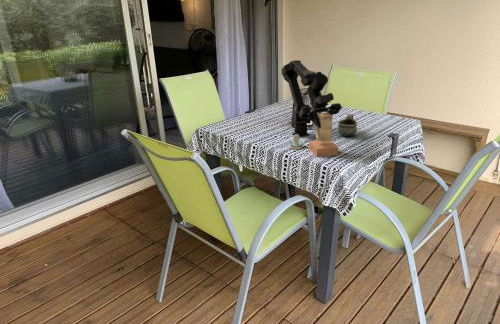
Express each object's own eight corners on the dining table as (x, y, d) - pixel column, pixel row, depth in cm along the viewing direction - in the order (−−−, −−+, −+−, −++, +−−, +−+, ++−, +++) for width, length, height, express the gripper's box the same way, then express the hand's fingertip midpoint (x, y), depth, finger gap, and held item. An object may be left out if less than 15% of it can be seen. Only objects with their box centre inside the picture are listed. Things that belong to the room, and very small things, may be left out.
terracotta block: (308, 149, 172) (309, 141, 170) (328, 147, 174) (329, 139, 172) (316, 157, 163) (316, 149, 161) (337, 155, 164) (338, 146, 163)
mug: (336, 137, 185) (337, 118, 181) (338, 130, 196) (339, 111, 192) (355, 139, 182) (357, 119, 178) (356, 131, 193) (358, 112, 189)
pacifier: (303, 150, 171) (304, 145, 176) (303, 137, 168) (304, 133, 174) (287, 149, 173) (289, 144, 178) (287, 137, 170) (289, 132, 175)
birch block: (316, 139, 168) (317, 113, 163) (325, 137, 169) (327, 112, 164) (320, 142, 163) (322, 116, 158) (331, 141, 164) (332, 115, 160)
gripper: (302, 88, 158) (312, 120, 153) (341, 85, 162) (352, 115, 157) (294, 102, 168) (303, 132, 163) (331, 98, 173) (341, 128, 167)
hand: (325, 127), depth 162 cm, fingers closed on birch block, 5 cm apart
